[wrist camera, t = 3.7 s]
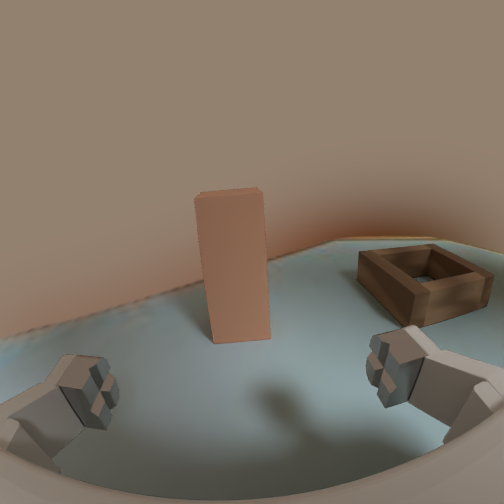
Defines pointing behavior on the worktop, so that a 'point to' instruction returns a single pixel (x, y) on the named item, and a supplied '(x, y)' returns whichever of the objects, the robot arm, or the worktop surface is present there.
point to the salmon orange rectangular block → (234, 263)
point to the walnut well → (423, 294)
